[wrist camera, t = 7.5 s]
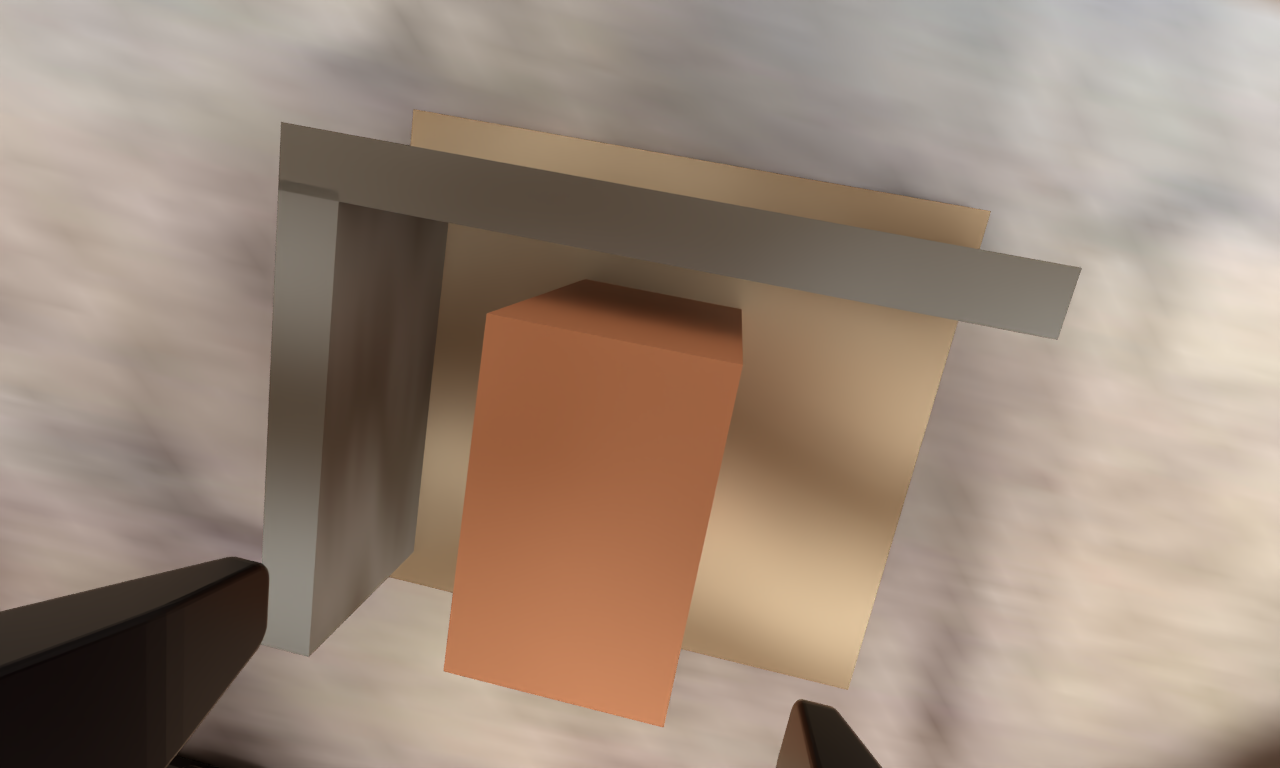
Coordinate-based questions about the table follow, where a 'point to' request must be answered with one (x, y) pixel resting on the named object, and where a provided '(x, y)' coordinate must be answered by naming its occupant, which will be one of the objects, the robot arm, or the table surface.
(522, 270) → the corner board
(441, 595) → the table surface
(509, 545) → the block
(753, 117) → the table surface
